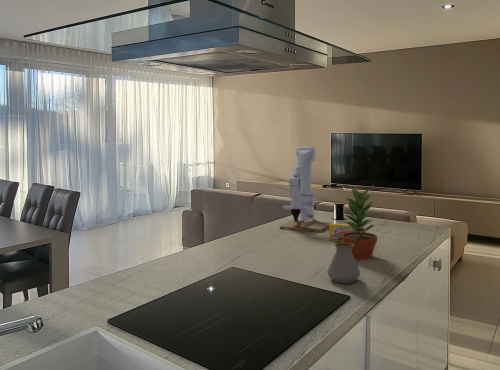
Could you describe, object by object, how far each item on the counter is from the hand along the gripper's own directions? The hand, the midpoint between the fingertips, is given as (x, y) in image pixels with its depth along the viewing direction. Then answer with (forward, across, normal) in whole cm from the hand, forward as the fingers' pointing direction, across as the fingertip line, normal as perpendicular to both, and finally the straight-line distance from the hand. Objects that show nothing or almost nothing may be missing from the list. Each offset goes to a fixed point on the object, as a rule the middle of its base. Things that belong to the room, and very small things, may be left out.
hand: (296, 223), depth 249 cm
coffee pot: (+3, +50, -70) cm, 86 cm away
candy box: (+3, +34, -19) cm, 39 cm away
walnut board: (+3, +4, +4) cm, 6 cm away
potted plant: (+3, +46, -43) cm, 63 cm away
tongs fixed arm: (+1, +5, +4) cm, 6 cm away
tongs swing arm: (+1, +2, +3) cm, 3 cm away
